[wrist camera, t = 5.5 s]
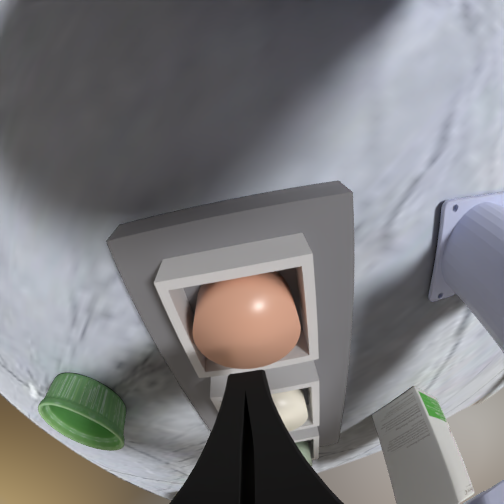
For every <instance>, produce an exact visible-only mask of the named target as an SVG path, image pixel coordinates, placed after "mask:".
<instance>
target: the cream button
mask: <svg viewBox="0 0 504 504" xmlns="http://www.w3.org/2000/svg"><path fill="white" fill-rule="evenodd" d="M271 396H272V399H273V401H274V404H275V406H276V408H277V410H278V413H279V415H280V417H281V419H282V421H283V423H284V425H285V427H286V428H287V430H288V432H290V431H293V430H295V429H297V428H299V427H300V426H302V425H303V424H304V423H305V422H306V420H307V418H308V412H307V407H306V403H305V398H304V394H303V389H298V390H292V391H287V392H281V393H276V394H271Z"/></svg>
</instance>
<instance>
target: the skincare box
mask: <svg viewBox="0 0 504 504" xmlns="http://www.w3.org/2000/svg"><path fill="white" fill-rule="evenodd" d="M372 418H373V421H374V424H375V427H376V430H377V434H378V437H379V440H380V444H381V447H382V451H383V454H384V458H385V461H386V465H387V468H388V472H389V476H390V480H391V484H392V487H393V491H394V496H395V500H396V503H397V504H458V503H460V502H462V501H463V500H465V499H467V498H468V497H470V496H471V495H472V494H474V490H473V487H472V484H471V481H470V478H469V475H468V473H467V470H466V467H465V464H464V462H463V459H462V456H461V454H460V451H459V449H458V446H457V444H456V441H455V439H454V437H453V434H452V432H451V430H450V427H449V425H448V423H447V420H446V418H445V416H444V413H443V411H442V409H441V407H440V405H439V402H438V400H437V399H436V398H435V397H433V396H432V395H430V394H428V393H426V392H424V391H422V390H421V389H419V388H417V387H416V386H413V387H412V388H410V389H409V390H408V391H406V392H405V393H403V394H402V395H401V396H399V397H398V398H396V399H395V400H394V401H392V402H391V403H389V404H388V405H386V406H385V407H383V408H382V409H380V410H378V411H377V412H375V413H374V414H372Z"/></svg>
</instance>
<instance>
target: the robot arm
mask: <svg viewBox="0 0 504 504" xmlns="http://www.w3.org/2000/svg"><path fill="white" fill-rule="evenodd" d="M454 205H455V206H454ZM453 206H454V208H453ZM455 294H457V295H458V296H459V298H460V299H461V300H462V301H463V302H464V303H465V305H466V306H467V307H468V308H469V309H470V310H471V312H472V313H473V314H474V315H475V316H476V318H477V319H478V320H479V321H480V323H481V324H482V325H483V326H484V328H485V329H486V330H487V331H488V333H489V334H490V335H491V336H492V338H493V339H494V340H495V342H496V343H497V344H498V346H499V347H500V348H501V350H502V351H503V353H504V192H497V193H490V194H483V195H476V196H470V197H463V198H456V199H450V200H446V201H445V202H444V203H443V205H442V208H441V219H440V228H439V237H438V244H437V251H436V257H435V263H434V269H433V275H432V280H431V285H430V290H429V295H428V299H429V300H430V301H431V302H435V301H438V300H441V299H444V298H447V297H450V296H453V295H455ZM170 504H344V503H343V502H341V500H339V499H338V497H337V496H336V495H335V494H334V493H333V492H332V491H331V490H330V489H329V488H328V487H327V485H326V484H325V483H324V482H323V481H322V479H321V478H320V477H319V476H318V474H317V473H316V472H315V471H314V469H313V468H312V467H311V465H310V464H309V463H308V461H307V460H306V459H305V457H304V456H303V454H302V453H301V451H300V450H299V448H298V447H297V445H296V444H295V442H294V440H293V439H292V437H291V435H290V434H289V432H288V430H287V428H286V427H285V425H284V423H283V421H282V419H281V417H280V415H279V413H278V410H277V408H276V406H275V404H274V401H273V399H272V396H271V392H270V388H269V384H268V380H267V377H266V373H265V371H264V370H262V369H261V370H255V371H248V372H242V373H234V374H230V375H229V376H228V378H227V383H226V388H225V392H224V396H223V399H222V403H221V406H220V409H219V412H218V415H217V418H216V421H215V424H214V426H213V429H212V431H211V434H210V436H209V438H208V441H207V443H206V445H205V447H204V450H203V452H202V454H201V456H200V458H199V460H198V461H197V463H196V465H195V467H194V469H193V470H192V472H191V474H190V475H189V477H188V479H187V480H186V482H185V483H184V485H183V486H182V488H181V489H180V490H179V492H178V493H177V494H176V496H175V497H174V498H173V500H172V501H171V503H170ZM463 504H504V480H502V481H501V482H499V483H497V484H496V485H494V486H493V487H491V488H490V489H488V490H486V491H483V492H482V493H480V494H478V495H476V496H475V497H473V498H472V499H470V500H468V501H466V502H465V503H463Z"/></svg>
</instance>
